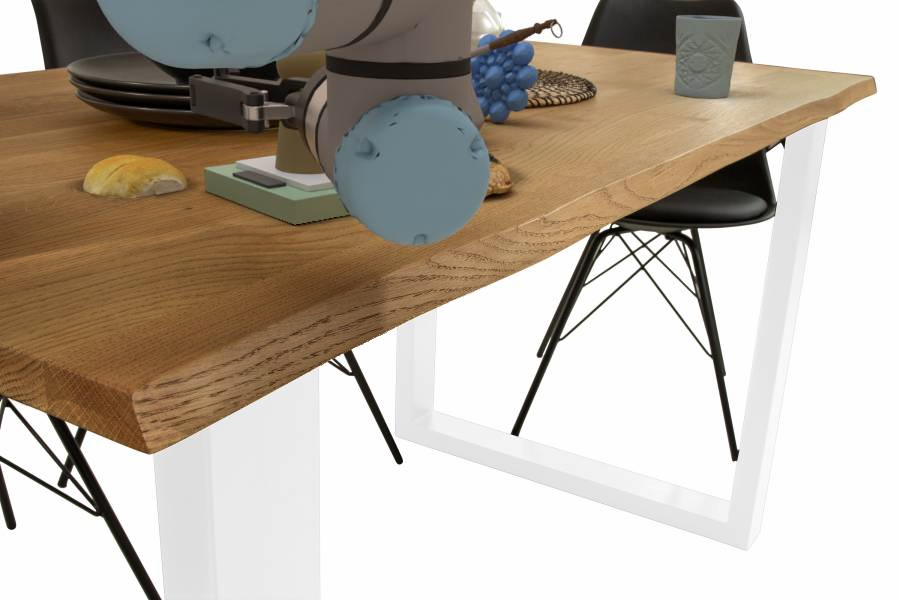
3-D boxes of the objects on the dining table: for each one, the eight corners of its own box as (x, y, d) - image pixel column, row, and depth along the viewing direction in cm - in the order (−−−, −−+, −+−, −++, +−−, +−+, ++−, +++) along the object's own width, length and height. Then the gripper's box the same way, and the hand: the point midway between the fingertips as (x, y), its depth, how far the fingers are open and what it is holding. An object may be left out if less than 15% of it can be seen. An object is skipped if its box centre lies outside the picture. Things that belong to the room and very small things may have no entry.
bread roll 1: (143, 184, 96) (140, 142, 95) (201, 201, 91) (199, 157, 89) (64, 199, 90) (59, 154, 89) (121, 218, 85) (117, 171, 83)
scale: (295, 226, 84) (294, 193, 83) (204, 190, 94) (203, 161, 93) (414, 202, 92) (415, 172, 91) (319, 172, 102) (318, 145, 101)
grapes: (552, 124, 132) (558, 30, 128) (523, 131, 127) (528, 33, 123) (481, 113, 139) (484, 23, 135) (451, 119, 134) (453, 26, 129)
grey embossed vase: (690, 99, 155) (698, 19, 151) (656, 90, 164) (663, 14, 160) (746, 98, 158) (755, 19, 154) (710, 88, 167) (718, 14, 163)
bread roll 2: (441, 167, 104) (446, 120, 102) (532, 199, 99) (539, 150, 97) (373, 191, 96) (377, 141, 94) (468, 227, 91) (476, 174, 88)
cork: (352, 170, 91) (351, 45, 87) (289, 176, 88) (285, 47, 84) (326, 157, 96) (324, 38, 92) (265, 163, 93) (260, 40, 89)
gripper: (160, 191, 61) (159, 127, 80) (548, 177, 67) (461, 120, 86) (150, 64, 58) (152, 29, 77) (556, 62, 64) (464, 30, 84)
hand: (315, 77), depth 82 cm, fingers open, 13 cm apart
